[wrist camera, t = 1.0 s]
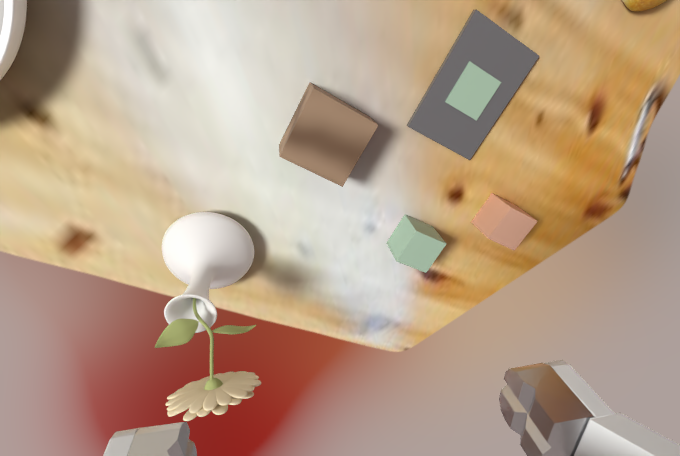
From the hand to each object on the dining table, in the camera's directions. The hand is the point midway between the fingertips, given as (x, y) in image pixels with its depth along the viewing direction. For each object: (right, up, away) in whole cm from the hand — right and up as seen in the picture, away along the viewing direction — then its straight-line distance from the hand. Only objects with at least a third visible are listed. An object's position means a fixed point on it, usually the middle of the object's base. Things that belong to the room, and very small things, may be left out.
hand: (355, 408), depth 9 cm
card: (+15, +21, +36) cm, 44 cm away
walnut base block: (-2, +16, +35) cm, 39 cm away
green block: (+10, +4, +44) cm, 45 cm away
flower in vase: (-17, +2, +40) cm, 44 cm away
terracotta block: (+22, +7, +45) cm, 50 cm away
